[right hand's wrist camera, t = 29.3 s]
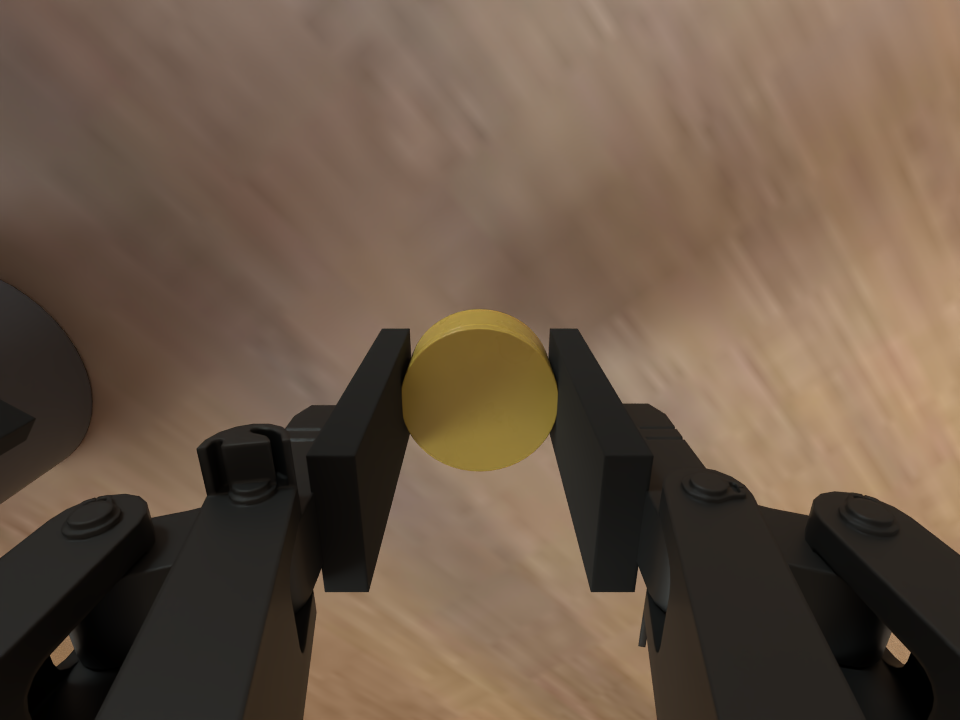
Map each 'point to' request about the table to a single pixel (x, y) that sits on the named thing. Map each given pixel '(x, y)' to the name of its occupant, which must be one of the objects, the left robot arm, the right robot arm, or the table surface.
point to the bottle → (39, 389)
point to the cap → (479, 391)
